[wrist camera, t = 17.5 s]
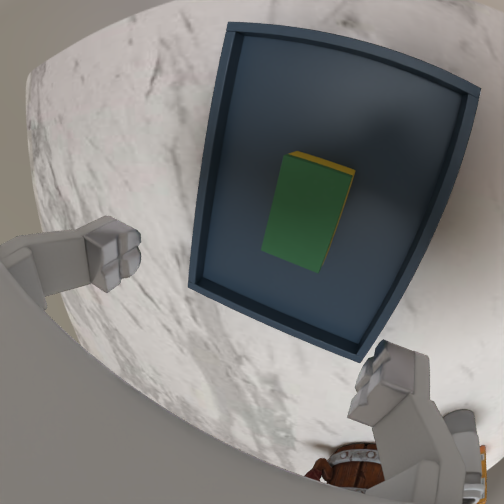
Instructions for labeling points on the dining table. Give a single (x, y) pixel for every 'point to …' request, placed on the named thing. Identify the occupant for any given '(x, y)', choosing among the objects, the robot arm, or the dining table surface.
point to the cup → (467, 452)
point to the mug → (350, 468)
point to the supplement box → (483, 475)
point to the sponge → (306, 209)
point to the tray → (335, 150)
